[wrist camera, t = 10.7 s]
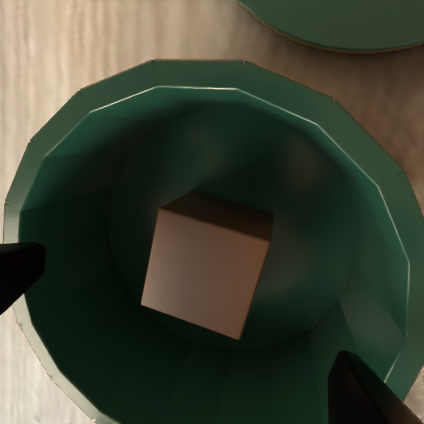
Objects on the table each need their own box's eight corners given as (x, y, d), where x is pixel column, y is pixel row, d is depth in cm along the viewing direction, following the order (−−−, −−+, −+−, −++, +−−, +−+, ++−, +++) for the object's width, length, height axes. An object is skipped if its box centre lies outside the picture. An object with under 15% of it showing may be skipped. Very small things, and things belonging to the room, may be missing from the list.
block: (274, 213, 13) (271, 241, 10) (250, 289, 14) (239, 341, 11) (191, 189, 14) (158, 207, 10) (175, 264, 15) (139, 305, 11)
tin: (423, 133, 12) (557, 125, 6) (312, 392, 16) (330, 537, 10) (121, 64, 14) (10, 10, 8) (88, 308, 18) (-4, 387, 12)
